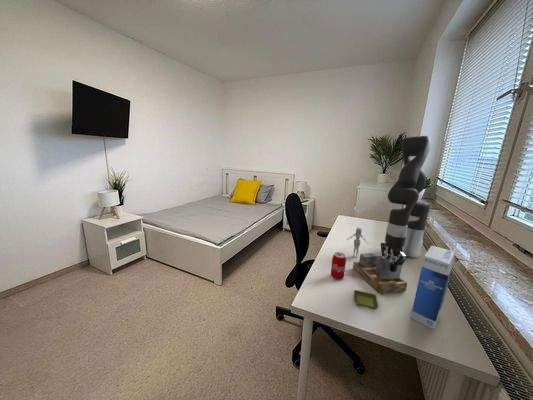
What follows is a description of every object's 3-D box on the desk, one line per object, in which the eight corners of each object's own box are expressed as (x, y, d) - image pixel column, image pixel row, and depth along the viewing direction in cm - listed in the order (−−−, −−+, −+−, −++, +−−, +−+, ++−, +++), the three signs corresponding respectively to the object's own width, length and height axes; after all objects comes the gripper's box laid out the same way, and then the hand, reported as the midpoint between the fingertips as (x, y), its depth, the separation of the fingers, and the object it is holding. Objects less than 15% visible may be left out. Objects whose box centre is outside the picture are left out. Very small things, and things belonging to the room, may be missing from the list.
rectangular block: (393, 273, 98) (397, 258, 97) (399, 278, 95) (403, 262, 93) (374, 274, 97) (377, 258, 95) (379, 278, 93) (383, 262, 92)
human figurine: (344, 255, 126) (347, 227, 122) (344, 253, 129) (348, 225, 125) (366, 260, 121) (370, 230, 117) (366, 257, 124) (370, 228, 120)
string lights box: (418, 301, 88) (431, 244, 82) (441, 312, 83) (457, 251, 77) (409, 318, 79) (423, 255, 73) (435, 330, 74) (451, 264, 68)
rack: (376, 267, 114) (378, 250, 112) (405, 290, 95) (409, 271, 93) (352, 268, 112) (354, 252, 110) (377, 293, 93) (380, 274, 91)
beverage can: (337, 282, 100) (339, 259, 97) (327, 275, 105) (330, 253, 103) (346, 278, 103) (349, 256, 100) (337, 272, 108) (339, 250, 105)
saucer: (353, 306, 85) (354, 302, 84) (353, 293, 93) (353, 289, 92) (378, 312, 82) (378, 308, 82) (375, 298, 90) (376, 294, 90)
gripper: (417, 239, 85) (409, 277, 89) (391, 227, 99) (386, 260, 103) (401, 240, 84) (394, 279, 88) (377, 227, 97) (372, 261, 101)
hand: (389, 269), depth 95 cm, fingers closed on rectangular block, 3 cm apart
